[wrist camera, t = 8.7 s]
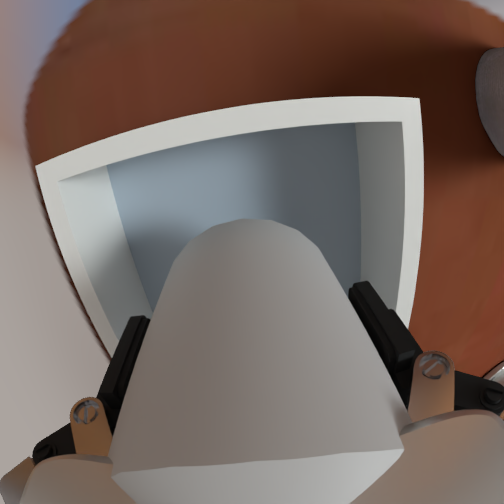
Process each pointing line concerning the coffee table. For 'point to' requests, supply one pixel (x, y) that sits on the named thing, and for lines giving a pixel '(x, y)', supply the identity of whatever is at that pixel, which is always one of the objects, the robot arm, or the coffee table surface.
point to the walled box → (242, 196)
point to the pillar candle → (491, 95)
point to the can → (255, 381)
